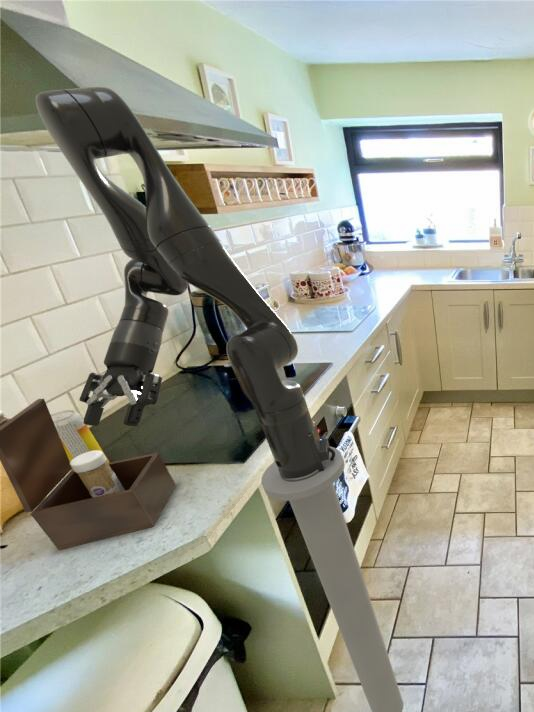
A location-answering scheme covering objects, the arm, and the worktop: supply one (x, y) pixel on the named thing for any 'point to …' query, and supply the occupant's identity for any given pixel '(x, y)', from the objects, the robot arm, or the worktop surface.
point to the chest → (106, 503)
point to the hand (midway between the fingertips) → (110, 425)
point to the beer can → (74, 434)
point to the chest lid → (32, 454)
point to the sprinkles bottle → (96, 473)
